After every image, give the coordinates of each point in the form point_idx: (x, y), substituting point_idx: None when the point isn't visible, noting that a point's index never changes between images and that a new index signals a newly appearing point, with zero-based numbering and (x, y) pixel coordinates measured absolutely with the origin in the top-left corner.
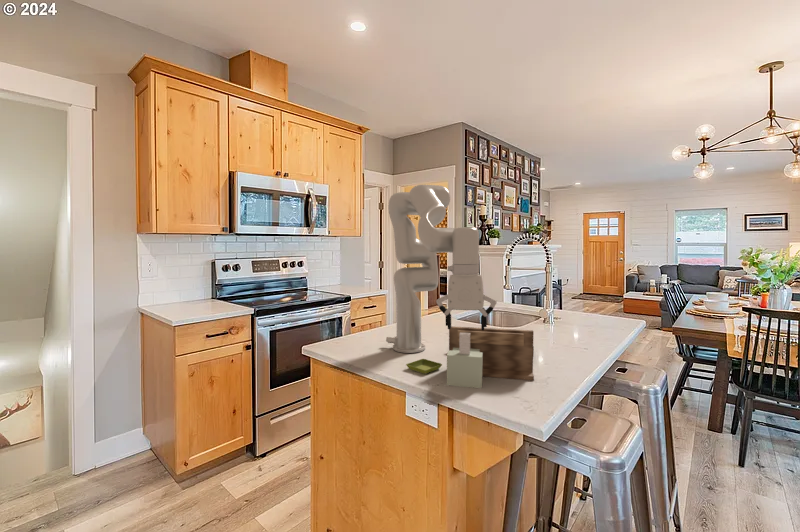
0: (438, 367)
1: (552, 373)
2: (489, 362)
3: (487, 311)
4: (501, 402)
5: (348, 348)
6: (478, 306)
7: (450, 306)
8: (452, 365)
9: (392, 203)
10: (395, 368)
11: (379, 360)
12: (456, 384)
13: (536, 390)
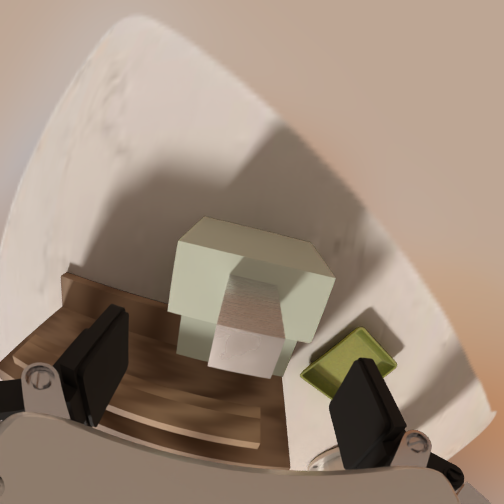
0: (312, 363)
1: (36, 312)
2: (156, 353)
3: (15, 397)
4: (169, 111)
5: (448, 436)
6: (35, 445)
7: (439, 483)
8: (304, 258)
9: None
10: (413, 360)
11: (426, 398)
12: (281, 236)
13: (69, 203)
